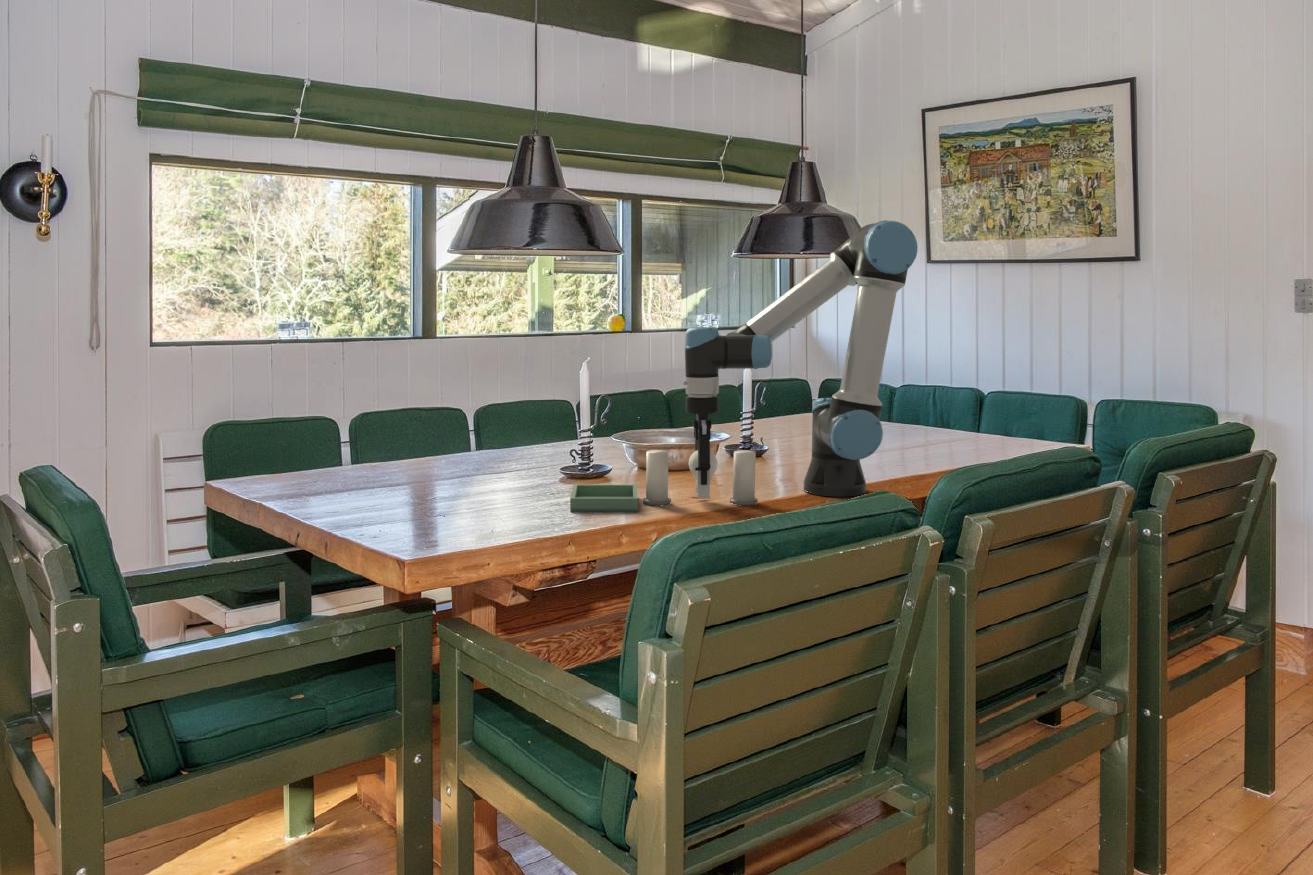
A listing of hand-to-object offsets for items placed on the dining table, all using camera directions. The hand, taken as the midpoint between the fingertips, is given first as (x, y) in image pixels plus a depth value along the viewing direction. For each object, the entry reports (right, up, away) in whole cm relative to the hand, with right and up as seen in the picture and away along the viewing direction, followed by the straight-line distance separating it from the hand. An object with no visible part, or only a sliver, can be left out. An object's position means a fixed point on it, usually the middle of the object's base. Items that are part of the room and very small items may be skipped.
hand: (702, 495), depth 248 cm
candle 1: (-10, -2, 0) cm, 11 cm away
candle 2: (+10, -2, 0) cm, 10 cm away
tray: (-22, -2, -2) cm, 23 cm away
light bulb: (0, 0, 0) cm, 1 cm away
